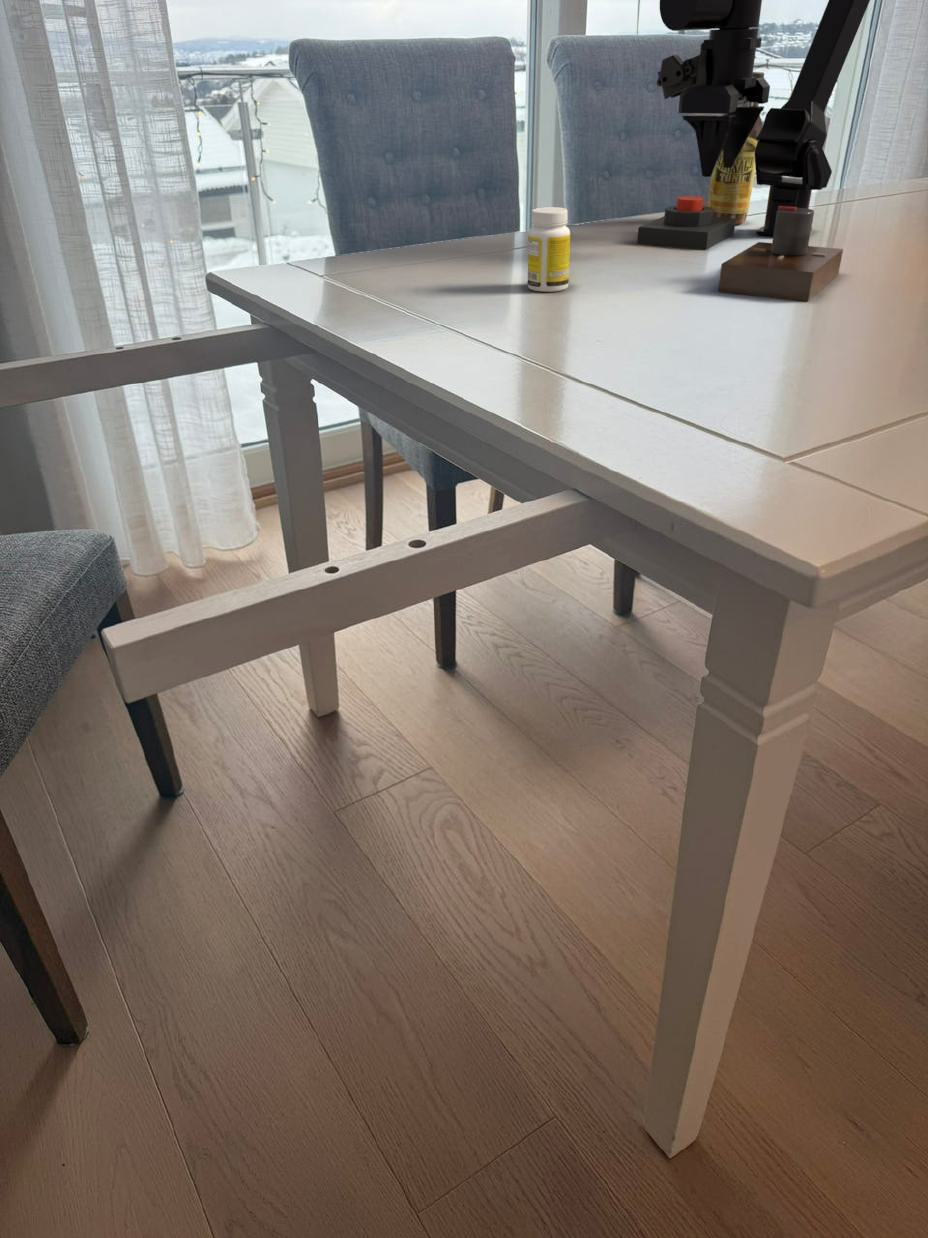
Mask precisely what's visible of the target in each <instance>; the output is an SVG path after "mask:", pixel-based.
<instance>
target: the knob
mask: <svg viewBox="0 0 928 1238" xmlns="http://www.w3.org/2000/svg"><path fill="white" fill-rule="evenodd" d="M814 216H815V210H814V209H811V208H809V209H807V208H796V207H787V206H779V207H778V210H777V215H776V222H775V228H774V235H772V242H771V243H772V248H771V252H772V253H774V254H777V255H784V256H799V255H804V254H807V250H808V246H810V240H811V239H810V238H811V233H812V231H811V228H812V229H813V221H814Z"/></svg>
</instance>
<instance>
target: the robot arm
mask: <svg viewBox="0 0 928 1238" xmlns="http://www.w3.org/2000/svg"><path fill="white" fill-rule="evenodd" d="M870 1H871V0H828V1H827V3H826V6H825V9H824V11H823V13H822V16H821V19H820V22H819V24H818V26H817V29H816V31H815V33H814V36H813V39H812V41H811V44H810V46H809V48H808V51H807V54H806V56H805V58H804V62H803V64H802V66H801V69H800V71H799V74H798V76H797V79H796V82H795V84H794V86H793V89H792V91H791V94H790V96H789V99H788V100H787V101H786V102H785V103H784V104H783V105H782V106H781V107H780V108H778V107H770V109H769V110H768V111H767V112H766V115H765V117H764V121H763V123H762V129H761V131H760V133H759V134H758V136H757V137H756V140H758V142H757V145H756V149H755V154H754V155H755V167H756V170H755V176H756V177H755V179H756V185H757V186H769V190H768V191H769V192H768V198H767V204H766V209H765V218H764V224H763V226H762V227H759V228H758V229H756V230H755V235H763V236H773V235H774V228H775V222H776V215H777V210H778V207H779V206H787V207H796V208H807V209H810V204H811V198H812V191H821V190H823V189H825V188H827V187H828V184H829V181H830V179H831V177H832V173H833V170H832V167H831V166H830V163H829V160H828V158H827V156H826V154H825V152H824V151H825V150H824V146H825V144H826V143H825V142H826V139H827V135H828V133H827V132H828V131H827V124H826V115H825V111H826V108H827V106H828V104H829V101H830V98H831V96H832V94H833V91H834V89H835V86H836V84H837V81H838V79H839V76H840V74H841V71H842V69H843V67H844V65H845V62H846V60H847V57H848V55H849V52H850V50H851V47H852V45H853V42H854V40H855V37H856V36H857V33H858V31H859V27H860V25H861V23H862V21H863V18H864V17H865V14H866V11H867V9H868V6H869V4H870ZM762 3H763V0H659V14H660V18H661V21H662V23H663V25H664V26H665V27H666V28H667V29H668V30H670V31H674V32H680V31H707V30H709V34H708V39H703V42H701V43H700V51H699V54H698V55H695V56H693V57H691V58H687V59H685V60H684V61H683V60H682V58H681V57H680V56H679V54H674V55H673V54H672V55H670V56H668V57H666V58H663V59H662V61H661V65H660V70H659V71H657V76H658V77H657V81H656V85H657V86H658V87H661V90H662V95H663V98H664V100H668V99H669V98H670V99H671V98H672V99H673V98H677V97H679V102H678V114H682V115H681V117H682V120H684V121H685V122H687V123H688V124H689V125H690V126H691V128H692V129H693V130H694V133H695V136H696V142H697V143H696V144H697V149H698V154H699V155H698V156H699V157H698V158H699V162H700V170H701V176H702V177H704V178H711V176H712V174H713V171H714V169H715V167H716V164H717V162H718V160H719V157H720V155H721V152H722V150H723V161H724V167H725V168H731V167H733V165H734V163H735V161H736V159H737V157H738V155H739V153H740V151H741V149H742V147H743V145H744V143H745V141H746V139H747V138H748V136H749V134H750V132H751V130H752V128H753V126H754V125H755V123H756V121H757V119H758V117H759V115H760V116H761V113H762V112H763V111H764V109H765V106H762V105H764V104H768V103H769V96H770V91H771V90H770V89H771V85H770V84H769V83H768V81H767V80H766V79H765V77H764V78H757V77H752V76H753V72H754V67H755V60H756V53H757V49H759V48H761V46H762V40H763V39H762V37H759V36H758V35H759V27H760V19H761V12H762ZM754 102H758V104H759V105H758V106H753V104H754ZM683 114H684V115H683ZM812 230H813V227H812V228H811V232H812Z"/></svg>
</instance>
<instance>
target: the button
mask: <svg viewBox="0 0 928 1238" xmlns="http://www.w3.org/2000/svg"><path fill="white" fill-rule="evenodd" d="M704 202H705V201H704V197H703V196H698V195H697V196H696V195H684V196H678V197H677V198H676V205H675V206H676V210H679V211H701V210H703V206H704Z"/></svg>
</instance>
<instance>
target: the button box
mask: <svg viewBox="0 0 928 1238" xmlns="http://www.w3.org/2000/svg"><path fill="white" fill-rule="evenodd" d="M676 206H677V205H670V206H668V207H665V208H664V215H663V216H661V217H659V218H656V219H654V220H652V221H649V222H646V223H645V224H642V225H640V226H638V227H637V239H636V244H638V245H649V246H660V247H671V248H682V249H693V250H706V251H707V250H709V249H710V248H711V247H714V246H716V245H717V244H719V243H721V242H723V241H725V240H727V239H728V238H731V237H732V236H734V235H735V230H736V229H735V228H736V225H735V222H736V218H722V217H713V213H714V209H713V208H711V207H707V205H703V210H701V211H679V210H676Z"/></svg>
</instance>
